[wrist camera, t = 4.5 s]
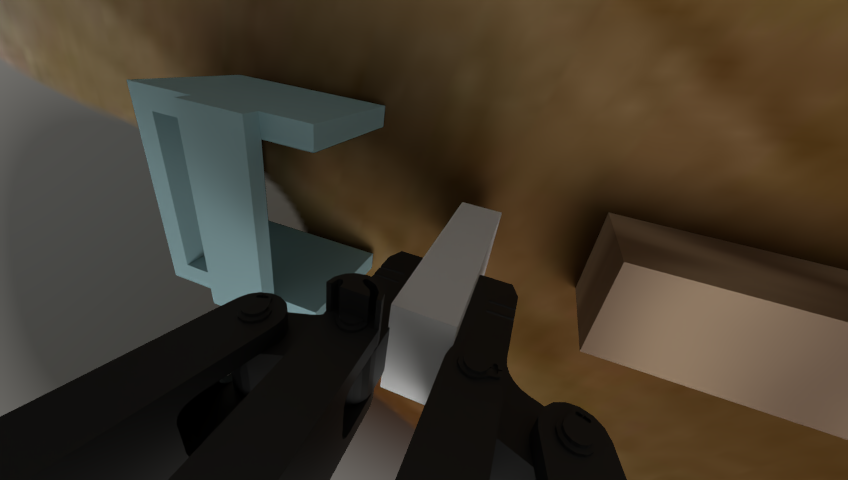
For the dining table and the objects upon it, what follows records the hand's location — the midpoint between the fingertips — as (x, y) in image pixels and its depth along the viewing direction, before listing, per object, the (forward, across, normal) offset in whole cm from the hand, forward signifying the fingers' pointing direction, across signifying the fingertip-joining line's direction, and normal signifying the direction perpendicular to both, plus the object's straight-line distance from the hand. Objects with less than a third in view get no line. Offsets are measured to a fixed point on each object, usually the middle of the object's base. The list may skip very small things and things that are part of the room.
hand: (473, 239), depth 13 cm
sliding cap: (+2, -8, 0) cm, 8 cm away
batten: (+2, +10, 0) cm, 11 cm away
